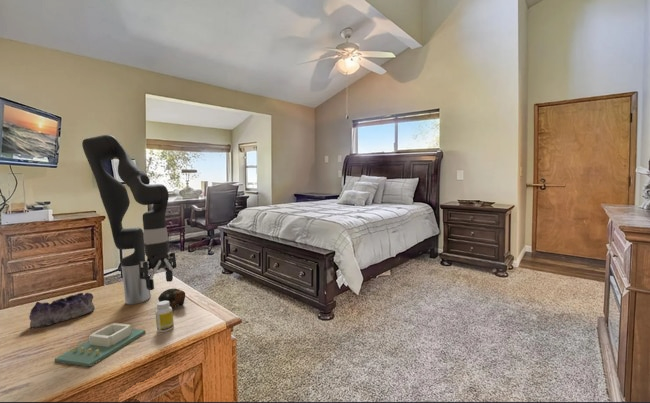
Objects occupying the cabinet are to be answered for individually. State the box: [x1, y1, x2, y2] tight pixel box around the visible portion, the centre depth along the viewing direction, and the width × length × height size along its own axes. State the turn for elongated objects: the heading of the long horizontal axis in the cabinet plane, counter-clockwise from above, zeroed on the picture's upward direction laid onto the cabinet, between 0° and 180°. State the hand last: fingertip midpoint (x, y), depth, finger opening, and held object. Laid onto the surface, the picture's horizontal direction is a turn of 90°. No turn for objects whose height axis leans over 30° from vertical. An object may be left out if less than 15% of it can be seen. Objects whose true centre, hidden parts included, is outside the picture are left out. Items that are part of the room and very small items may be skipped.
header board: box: [54, 322, 146, 367], centre depth 103 cm, size 20×14×4 cm
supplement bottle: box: [155, 301, 175, 333], centre depth 113 cm, size 5×5×10 cm
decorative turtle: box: [157, 288, 186, 311], centre depth 132 cm, size 10×15×8 cm, turn 70°
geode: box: [28, 292, 95, 329], centre depth 126 cm, size 20×12×10 cm, turn 145°
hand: (160, 285), depth 112 cm, fingers open, 8 cm apart
